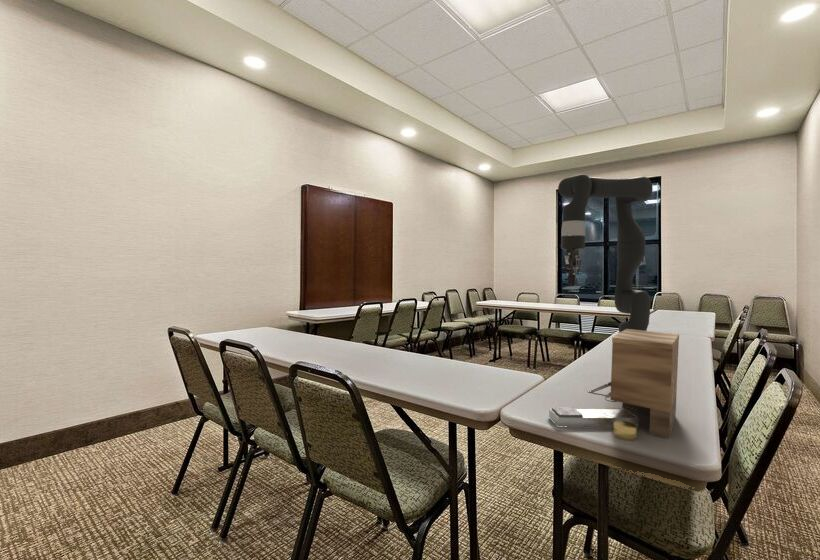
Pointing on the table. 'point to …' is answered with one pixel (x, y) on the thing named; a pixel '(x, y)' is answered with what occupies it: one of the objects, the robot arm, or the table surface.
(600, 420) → the bar
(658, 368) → the wooden grain block
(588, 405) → the table surface
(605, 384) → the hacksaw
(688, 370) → the table surface
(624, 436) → the puck
